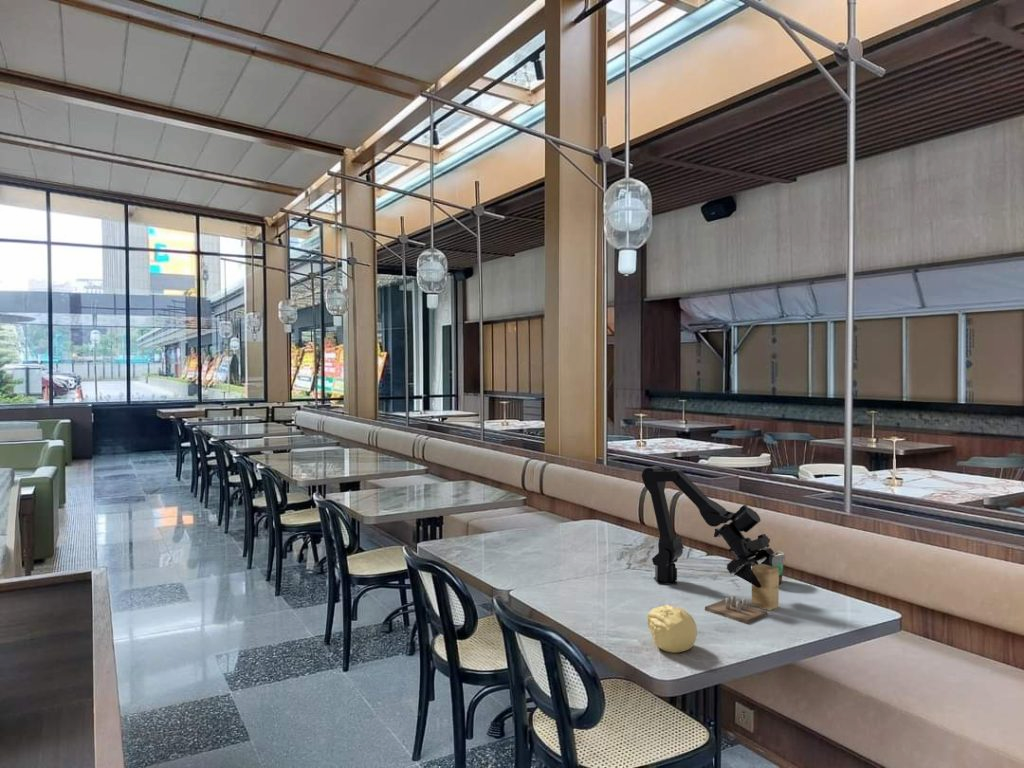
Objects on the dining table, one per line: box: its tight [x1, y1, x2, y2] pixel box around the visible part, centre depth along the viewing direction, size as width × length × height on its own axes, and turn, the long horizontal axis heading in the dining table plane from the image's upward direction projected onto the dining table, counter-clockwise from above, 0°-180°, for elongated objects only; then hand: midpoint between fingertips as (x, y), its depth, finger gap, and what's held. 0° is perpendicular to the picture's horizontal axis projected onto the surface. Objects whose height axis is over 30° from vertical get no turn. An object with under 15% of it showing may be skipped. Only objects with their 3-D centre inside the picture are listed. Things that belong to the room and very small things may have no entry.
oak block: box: [751, 564, 780, 611], centre depth 202 cm, size 6×5×12 cm
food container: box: [754, 550, 786, 586], centre depth 224 cm, size 12×6×10 cm, turn 117°
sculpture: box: [646, 604, 698, 654], centre depth 172 cm, size 12×12×11 cm
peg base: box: [704, 595, 769, 625], centre depth 197 cm, size 14×11×4 cm
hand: (768, 584), depth 202 cm, fingers open, 9 cm apart
